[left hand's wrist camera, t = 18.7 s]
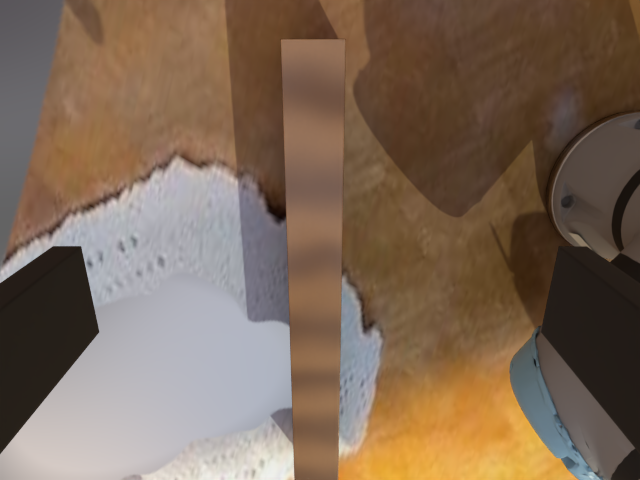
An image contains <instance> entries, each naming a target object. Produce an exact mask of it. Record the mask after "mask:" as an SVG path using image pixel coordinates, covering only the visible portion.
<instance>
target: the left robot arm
mask: <svg viewBox="0 0 640 480" xmlns="http://www.w3.org/2000/svg"><path fill="white" fill-rule="evenodd" d="M546 204H547V211H548V215H549V218H550V220H551V222H552V224H553V226H554V228H555V229H556V231H557V232H558V233H559V234H560V235H561V236H562V237H563V238H564V239H565V240H566V241H568V242H569V243H570V244H572V245H573V246H559V249H558V253H557V258H556V263H555V268H554V272H553V277H552V282H551V286H550V291H549V296H548V301H547V305H546V310H545V315H544V319H543V324H542V326H538V327H537V328H536V329H535V330H534V332H533V334H532V337H531V338H530V339H529V340H528V341H527V342H526V343H525V344H524V346H523V347H522V348H521V349H520V350H519V351H518V352H517V353H516V354H515V355H514V357H513V358H512V361H511V363H510V382H511V386H512V389H513V392H514V394H515V397H516V399H517V401H518V403H519V405H520V407H521V409H522V411H523V413H524V414H525V416H526V418H527V419H528V421H529V423H530V424H531V426H532V427H533V429H534V430H535V432H536V433H537V434H538V436H539V437H540V439H541V440H542V441H543V443H544V444H545V445H546V446H547V448H548V449H549V450H550V451H551V452H552V454H553V455H554V456H555V457H556V458H561V460H562V461H563V463H564V465H565V466H566V468H567V469H568V470H569V471H570V472H571V473H572V474H573V475H574V476H575V477H576V478H578V479H579V480H640V111H629V112H623V113H618V114H615V115H612V116H609V117H606V118H604V119H602V120H600V121H598V122H596V123H594V124H593V125H591V126H589V127H588V128H586V129H585V130H584V131H582V132H581V133H580V134H579V135H578V136H576V137H575V138H574V139H573V140H572V141H571V142H570V143H569V145H568V146H567V147H566V148H565V149H564V151H563V152H562V153H561V155H560V156H559V158H558V160H557V161H556V163H555V165H554V167H553V170H552V172H551V175H550V178H549V181H548V186H547V193H546ZM604 258H607V259H613V260H612V261H611V262H609V261H607V260H606V259H604ZM98 333H99V329H98V324H97V319H96V315H95V310H94V305H93V301H92V296H91V291H90V286H89V282H88V277H87V272H86V268H85V263H84V258H83V253H82V249H81V246H53V247H52V248H50V249H49V250H47V251H46V252H44V253H43V254H42V255H40V256H39V257H37V258H36V259H34V260H33V261H31V262H30V263H29V264H27V265H26V266H24V267H23V268H21V269H20V270H19V271H17V272H16V273H14V274H13V275H11V276H10V277H9V278H7V279H6V280H4V281H3V282H1V283H0V454H1V452H2V451H3V450H4V449H5V447H6V446H7V445H8V444H9V443H10V441H11V440H12V439H13V438H14V436H15V435H16V434H17V433H18V431H19V430H20V429H21V428H22V427H23V425H24V424H25V423H26V422H27V420H28V419H29V418H30V417H31V415H32V414H33V413H34V412H35V411H36V409H37V408H38V407H39V406H40V404H41V403H42V402H43V401H44V399H45V398H46V397H47V396H48V394H49V393H50V392H51V391H52V390H53V388H54V387H55V386H56V385H57V383H58V382H59V381H60V380H61V378H62V377H63V376H64V375H65V374H66V372H67V371H68V370H69V369H70V367H71V366H72V365H73V364H74V362H75V361H76V360H77V359H78V358H79V356H80V355H81V354H82V353H83V351H84V350H85V349H86V348H87V346H88V345H89V344H90V343H91V342H92V340H93V339H94V338H95V337H96V335H97V334H98Z"/></svg>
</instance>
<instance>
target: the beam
mask: <svg viewBox="0 0 640 480" xmlns="http://www.w3.org/2000/svg"><path fill="white" fill-rule="evenodd" d="M345 53H346V39H281V66H282V98H283V129H284V161H285V192H286V224H287V255H288V287H289V318H290V349H291V381H292V413H293V444H294V476H295V480H338V454H339V397H340V340H341V282H342V225H343V168H344V110H345Z"/></svg>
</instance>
